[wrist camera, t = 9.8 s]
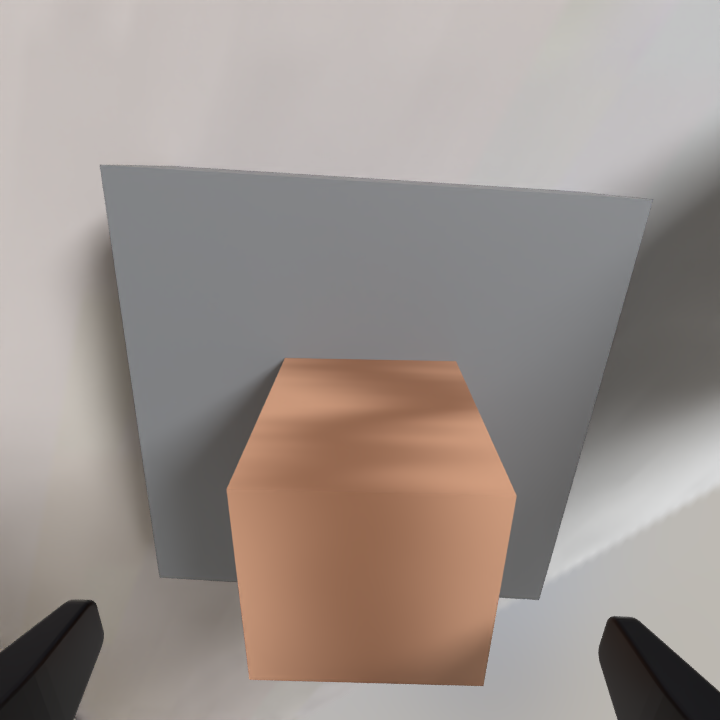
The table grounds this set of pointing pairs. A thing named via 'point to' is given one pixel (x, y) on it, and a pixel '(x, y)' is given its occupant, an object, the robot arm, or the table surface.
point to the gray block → (360, 323)
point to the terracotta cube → (369, 526)
